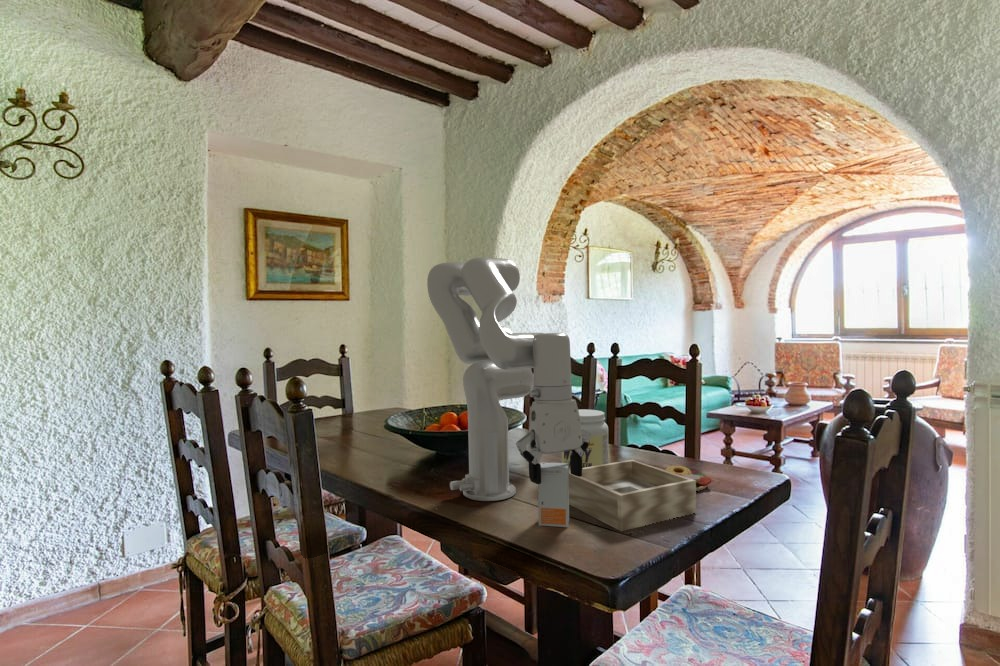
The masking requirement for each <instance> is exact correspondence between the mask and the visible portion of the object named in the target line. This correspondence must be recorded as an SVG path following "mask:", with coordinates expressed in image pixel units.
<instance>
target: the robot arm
mask: <svg viewBox="0 0 1000 666" xmlns="http://www.w3.org/2000/svg"><path fill="white" fill-rule="evenodd" d="M426 280H427V284H426V286H427V293H428V297H429V300H430V303H431V304H432V306H433V309H434V310H435V312H436V313H437V315H438V317H439V318H440V320H441V321H442V323H443V324H444V326H445V329H446V332H447V335H448V337H449V339H450V341H451V344H452V346H453V348H454V351H455V352H456V356H457V357H458V359H459V360H460V361H461V362H462V363H463V364H465V365H469V366H468V367H467V368H466V369H465V370H464V373H463V375H462V384H463V385H462V386H463V391H464V396H465V400H466V401H465V402H466V408H467V409H466V410H467V430H468V431H467V432H468V434H467V435H468V473H467V474H465V477H463V478H462V479H461V480H453V481H452V480H451V481H449V488H450V490H451V491H454V490H459V491H460V492H462V494H463V496H464V497H466V499H470V500H473V501H479V502H495V501H496V502H497V501H502V500H507V499H510V498H511V497H513V496H515V494H516V486H515V485H514V484H512V483H510V463H509V462H510V460H509V455H510V454H509V452H510V451H509V421H508V417H507V414H506V411H505V410H504V408H503V407H502V405H501V403H500V401H504V400H505V401H506V400H512V399H519V398H520V399H521V398H524V397H526V396H528V395H529V397H530V398H533V399H534V401H532V403H531V406H530V407H531V408H530V413H529V415H530V416H529V427H528V428H529V430H528V431H529V432H528V433H527V434H525V435H523V437H521V438H520V439H519V440H517V441H516V442H515V445H516V448H517V449H518V451H519V453H520V455H521V457H522V458H523V459H524V460H525V461H526V462H527V463H528V477H529V480H530V482H531V483H534V484H536V485H538V484H541V465H540V463H539V461H540V459H541V458H542V456H543V454H546V455H549V454H556V453H562V452H564V451H571V452H572V455H570V471H571V474H573V475H575V476H578V477H581V476H582V457H583V456H584V452H585V450H586V449H587V448H588V446H589V444H588V443H589V441H590V438H591V435H592V434H591V433H590V432H588V431H586V430H584V429H582V428H581V423H580V416H579V411H578V410H579V408H578V404H577V401H576V399H573V390H572V389H573V388H572V385H573V384H572V364H571V363H572V361H571V340H570V337H569V336H568V334H567V333H564V332H548V333H545V332H515V333H514V332H513V331H512V330H511V329H510V328H508V327H506V326H503V325H500V322H502V321H504V320H506V319H507V318H509V316H511V315H512V313H513V312H514V311H515V309H516V308H517V301H518V300H517V297H516V295H515V292H514V291H515V290H517V288H518V286H519V285H520V281H521V274H520V270H519V268H518V266H517V265H516V263H514V262H513V261H512V260H510V259H508V258H502V257H501V258H497V257H486V256H485V257H484V256H483V257H474V258H470V259H469V260H468V261H465V262H455V261H453V262H451V261H450V262H449V261H447V262H442V263H438V264H436V265H434V266H432V267H431V269H430V270H429V272H428V275H427V279H426ZM460 296H471V297H472V298H473V300H474V302H475V303H476V305H477V306H478V308H479V310H480V312H481V316H480V319H479V318H478V316H477V313H476V311H475V310H474V308H473V307H472V306H471V305H470V303H468V302H467V301H465V300H464V299H462V298H461V297H460ZM532 369H533V371H532ZM528 444H529V447H530V451H529V450H528V448H527V445H528Z"/></svg>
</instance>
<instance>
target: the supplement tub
mask: <svg viewBox="0 0 1000 666" xmlns="http://www.w3.org/2000/svg"><path fill="white" fill-rule="evenodd" d="M578 411H579V416H580V423H581V428H582V429H584V430H586V431H588V432H590V433H591V434H592V435H591V438H590V441H589V443H588V444H589V446H588V448H587V449H586V450H585V452H584V456H583V457H582V468H585V467H591V466H597V465H603V464H609V426H608V424H607V423H606V422H605V420H606V415H605V412H604V411H602V410H596V409H578ZM570 455H572V452H571V451H564V452H561V463H568V464H569V470H570Z"/></svg>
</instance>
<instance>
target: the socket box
mask: <svg viewBox="0 0 1000 666" xmlns="http://www.w3.org/2000/svg"><path fill="white" fill-rule="evenodd" d="M569 506H571V507H573V508H576V509H577V510H579V511H580V512H582V513H585V514H587V515H588V516H591V517H592V518H595V519H597V520H599V521H600V522H602V523H604V524H606V525H608V526H610V527H612V528H614V529H615V530H617V531H620V532H625V531H628V530H633V529H637V528H642V527H645V525H646V526H649V524H650V525H653V524H652V523H654V524H657V523H656V522H658V523H661V522H660V521H662V522H666V521H670V520H674V519H673V518H675V519H677V518H676V517H679V518H682V517H681V516H683V517H686V516H685V515H687V516H690V514H691V515H694V514H693V513H695V514H697V492H696V480H693V479H690V478H687V477H684V476H681V475H678V474H675V473H672V472H669V471H666V470H665V469H662V468H660V467H657V466H654V465H650V464H647V463H645V462H641V461H638V460H635V459H628V460H622V461H615V462H610V463H609V464H603V465H597V466H591V467H585V468H582V476H581V477H578V476H575V475H573V474H571V471H570V470H569ZM669 519H670V520H669ZM665 520H666V521H665Z"/></svg>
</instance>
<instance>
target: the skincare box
mask: <svg viewBox="0 0 1000 666" xmlns="http://www.w3.org/2000/svg"><path fill="white" fill-rule="evenodd" d="M539 464H540V465H541V484H537V485H538V486H537V487H538V494H537V495H538V500H537V501H538V503H537V504H538V510H537V511H538V526H540V527H541V526H542V527H543V526H544V527H557V528H559V527H560V528H569V527H568V526H569V521H570V505H569V464H568V463H562V462H540V463H539Z"/></svg>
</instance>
